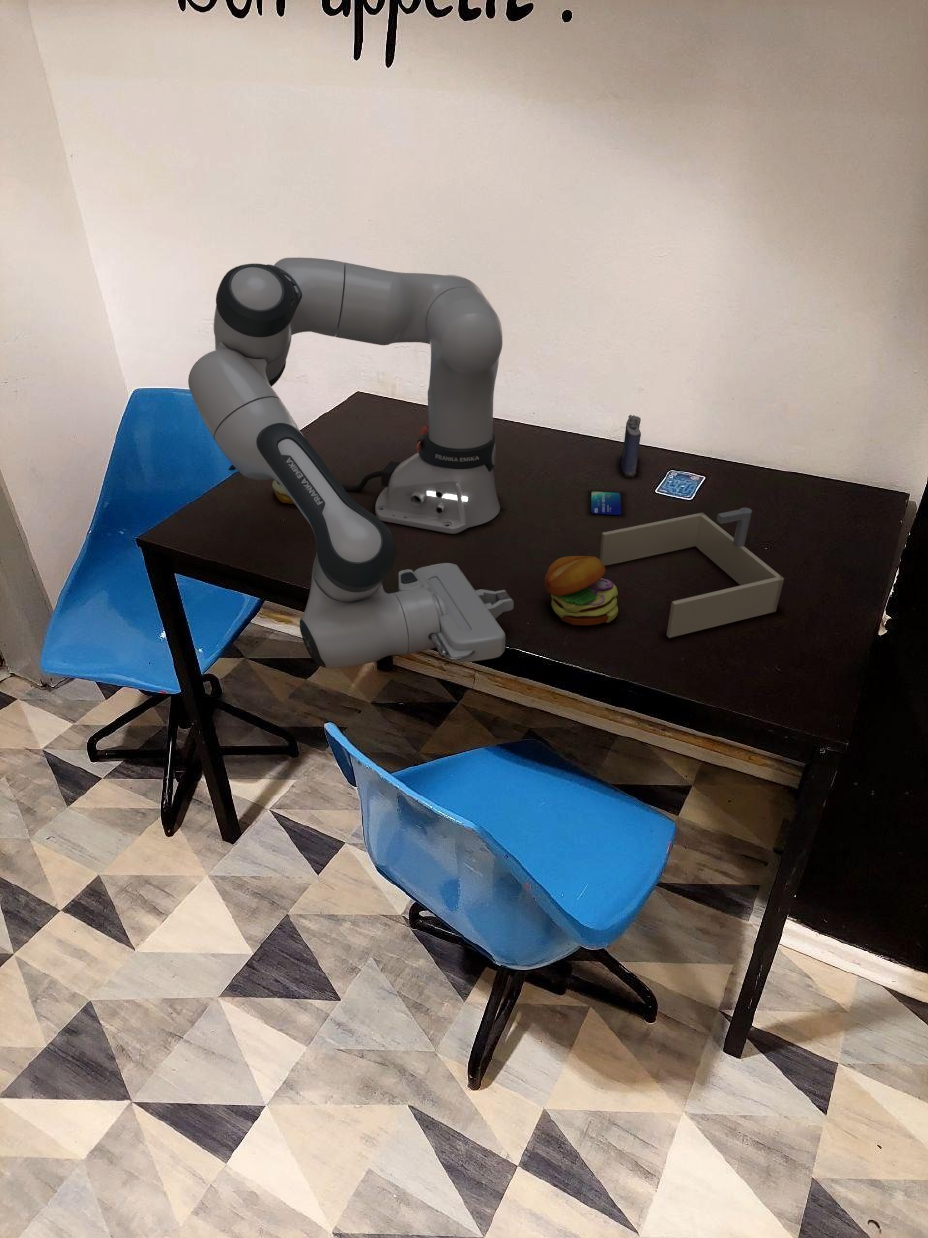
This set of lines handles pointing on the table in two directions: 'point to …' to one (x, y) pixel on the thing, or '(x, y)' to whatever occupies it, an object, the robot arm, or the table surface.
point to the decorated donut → (281, 493)
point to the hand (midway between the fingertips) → (509, 599)
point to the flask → (631, 446)
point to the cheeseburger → (581, 591)
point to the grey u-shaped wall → (716, 544)
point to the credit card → (605, 503)
